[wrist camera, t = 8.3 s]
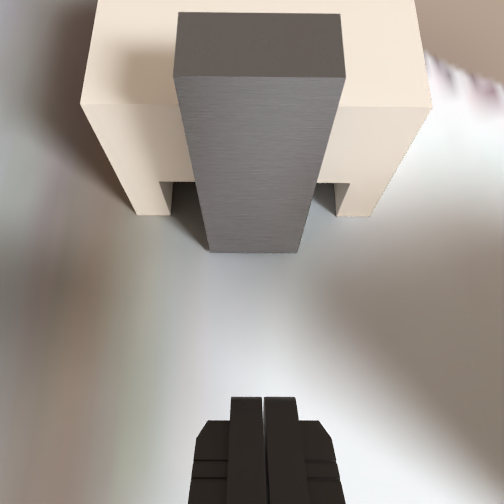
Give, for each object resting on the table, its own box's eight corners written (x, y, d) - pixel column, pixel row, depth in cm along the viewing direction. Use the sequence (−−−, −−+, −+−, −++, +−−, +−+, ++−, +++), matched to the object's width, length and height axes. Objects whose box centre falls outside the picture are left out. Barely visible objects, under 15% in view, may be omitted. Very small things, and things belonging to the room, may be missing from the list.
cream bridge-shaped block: (369, 216, 27) (432, 107, 18) (137, 215, 27) (80, 103, 18) (355, 78, 31) (401, -72, 22) (152, 75, 31) (111, -76, 22)
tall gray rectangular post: (322, 253, 26) (397, 78, 13) (184, 252, 26) (120, 75, 13) (311, 52, 32) (356, -212, 19) (196, 51, 32) (160, -215, 18)
